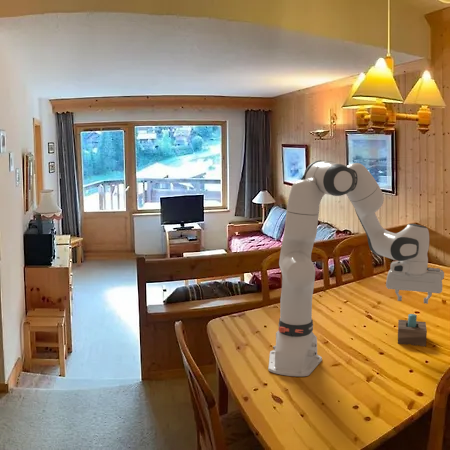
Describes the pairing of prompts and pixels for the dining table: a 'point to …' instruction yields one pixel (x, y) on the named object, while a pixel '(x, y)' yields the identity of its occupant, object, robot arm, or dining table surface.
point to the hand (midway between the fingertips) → (412, 301)
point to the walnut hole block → (412, 333)
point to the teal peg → (412, 320)
